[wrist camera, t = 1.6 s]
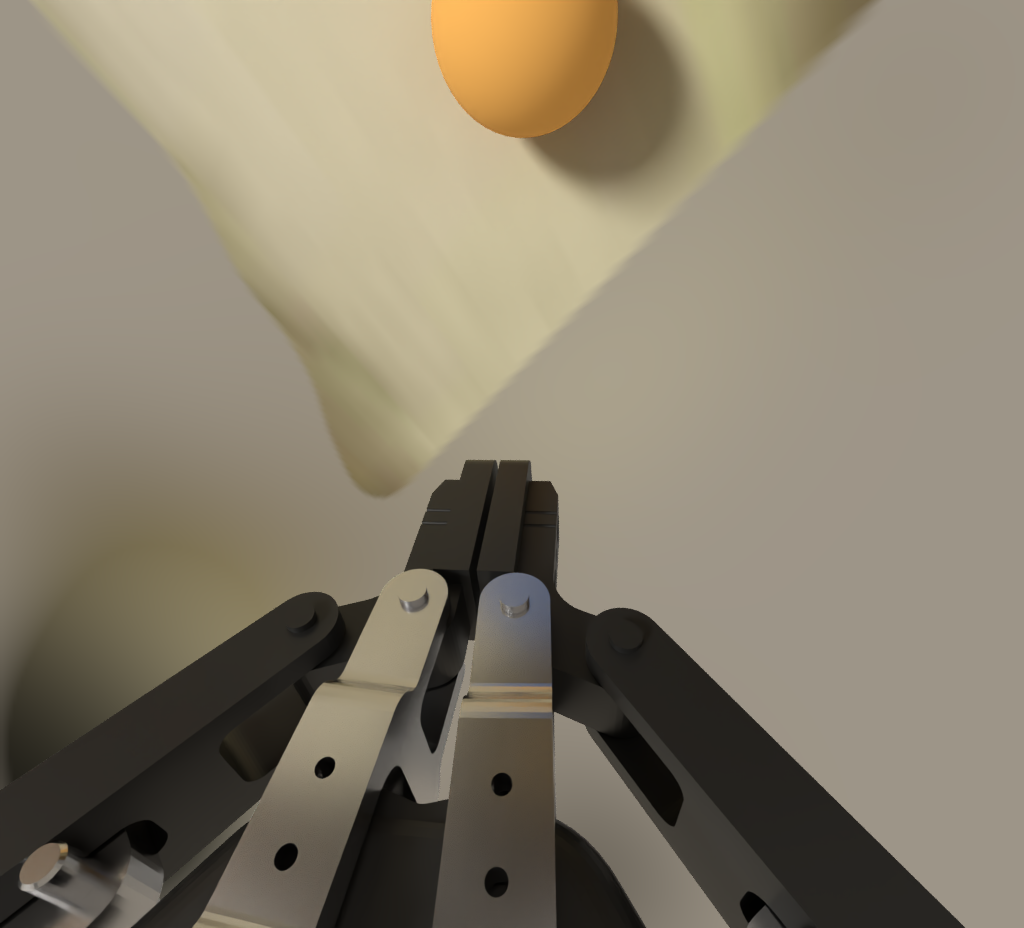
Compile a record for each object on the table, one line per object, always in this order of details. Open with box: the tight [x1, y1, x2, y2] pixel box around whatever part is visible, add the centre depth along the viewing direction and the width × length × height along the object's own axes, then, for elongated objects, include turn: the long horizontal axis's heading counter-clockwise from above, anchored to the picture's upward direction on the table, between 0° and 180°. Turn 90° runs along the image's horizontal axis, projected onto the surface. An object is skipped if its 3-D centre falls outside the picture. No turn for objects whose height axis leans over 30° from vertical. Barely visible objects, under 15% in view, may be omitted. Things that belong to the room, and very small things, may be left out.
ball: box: [431, 0, 618, 138], centre depth 17 cm, size 6×6×6 cm
